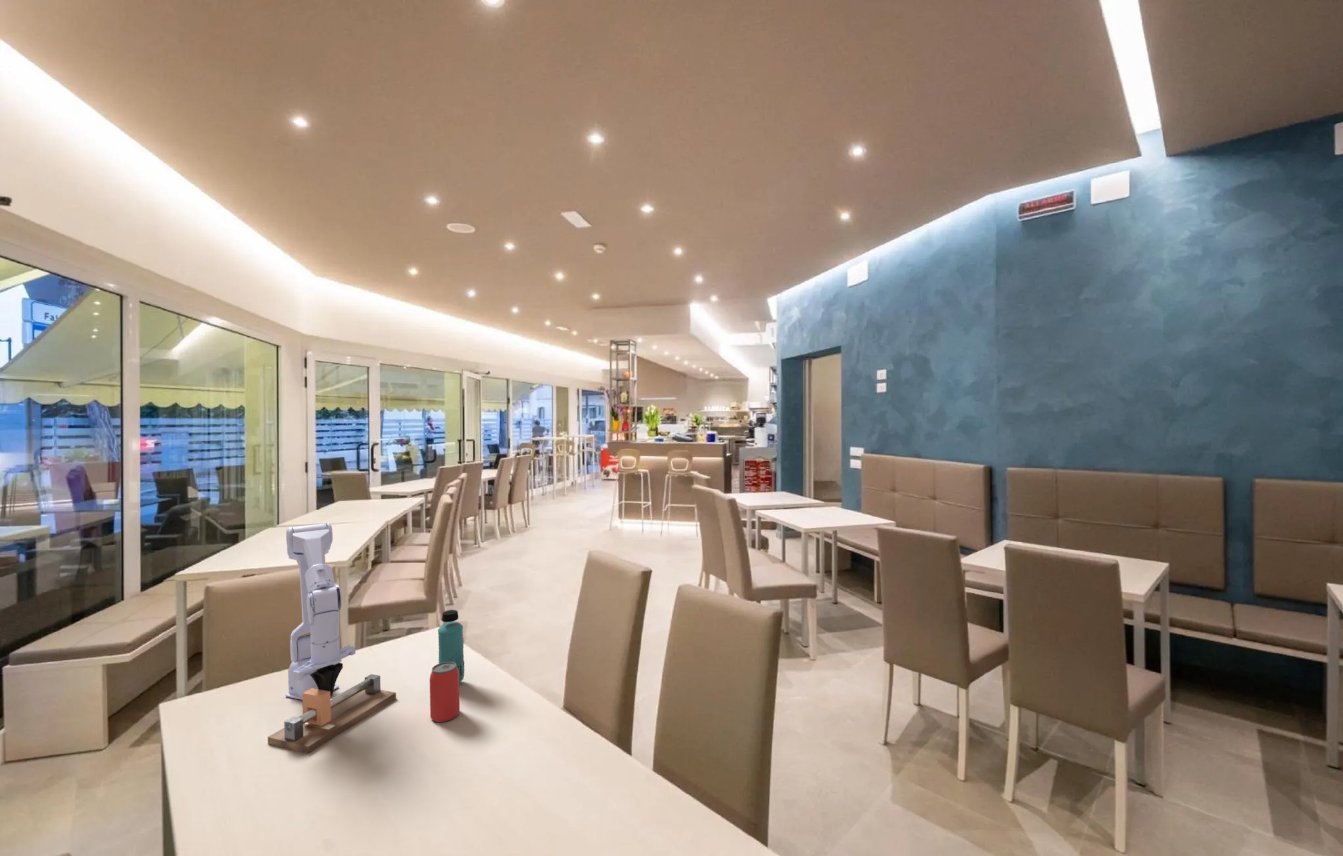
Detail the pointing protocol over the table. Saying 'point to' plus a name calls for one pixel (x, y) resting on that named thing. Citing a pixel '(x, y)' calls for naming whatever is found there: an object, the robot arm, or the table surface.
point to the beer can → (444, 692)
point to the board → (335, 721)
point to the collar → (317, 705)
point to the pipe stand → (295, 724)
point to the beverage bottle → (451, 641)
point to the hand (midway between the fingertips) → (326, 696)
